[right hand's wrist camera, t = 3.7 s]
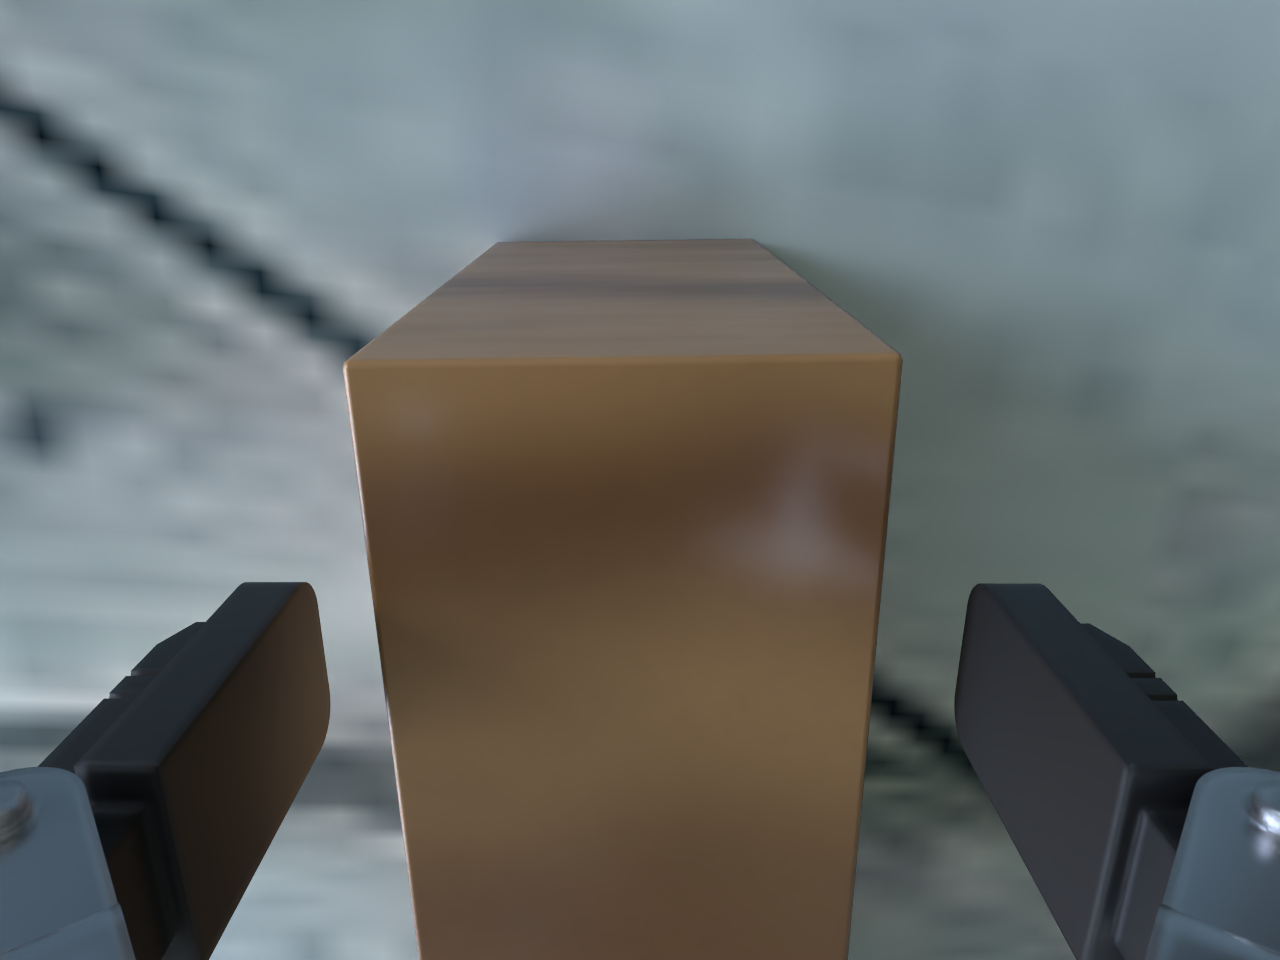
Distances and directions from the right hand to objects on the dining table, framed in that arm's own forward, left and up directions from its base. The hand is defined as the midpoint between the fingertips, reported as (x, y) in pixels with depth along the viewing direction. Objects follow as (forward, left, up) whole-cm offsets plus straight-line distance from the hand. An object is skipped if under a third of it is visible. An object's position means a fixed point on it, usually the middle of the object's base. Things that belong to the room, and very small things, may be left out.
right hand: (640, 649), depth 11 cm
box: (+10, 0, -12) cm, 15 cm away
